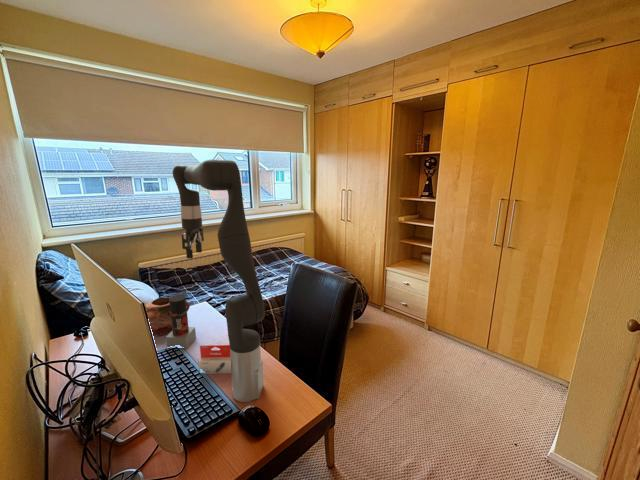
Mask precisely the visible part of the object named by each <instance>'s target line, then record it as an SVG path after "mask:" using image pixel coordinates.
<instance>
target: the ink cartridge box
mask: <svg viewBox="0 0 640 480" xmlns="http://www.w3.org/2000/svg"><path fill="white" fill-rule="evenodd" d="M213 348H218V349H213ZM199 352H200V357H199V360H198V369H199V368H200V369H202V370H203V371H205V372H206V373H205V374H231V360H230V344H219V345H218V344H217V345H216V344H215V345H213V344H212V345H208V344H207V345H199Z"/></svg>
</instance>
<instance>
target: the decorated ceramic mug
mask: <svg viewBox="0 0 640 480" xmlns="http://www.w3.org/2000/svg"><path fill="white" fill-rule="evenodd" d="M171 297H172V296H171ZM171 297H170V296H169V297H168V296H166V297H164V296H163V297H162V296H161V297H158V298H156V299H155V298H154V299H153V300H151V301H149V302H148V303H146V304H145V305H146V309H147V314H148V318H149V322H150V326H151V329H152V332H153V334H152V335H154V336H156V335H160V336H165V335H168V334H169V333H170V332H171V331H172V322H171V313H170V304H169V299H170V298H171ZM186 307H187V312H188V311H189V309H190V307H191V306H190V303H189V302H188V301H187V300H186ZM150 326H149V327H150Z"/></svg>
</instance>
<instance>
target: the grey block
mask: <svg viewBox="0 0 640 480" xmlns="http://www.w3.org/2000/svg"><path fill="white" fill-rule="evenodd" d="M188 328H189V332H188V333H187V334H185V335H182V336H174V335H173V331H171V332H170V333H169V334H166V336H165V342H166V348H167V347H170V346H175V345H180V346H182V347H184V348H185V349H184V350H187V349H188V348H189V346H190V345H192V343H193V342H194V341H195V340H196V338H197V335H196V327H195V326H194V327H193V326H188Z"/></svg>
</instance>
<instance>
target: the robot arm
mask: <svg viewBox="0 0 640 480" xmlns="http://www.w3.org/2000/svg"><path fill="white" fill-rule="evenodd" d="M172 177H173V179H174V181H175V184H176V186H177V189H178V193H179V200H180V216H181V217H180V219H181V228H182V229H183V230H185V233H181V243H182V246H181V247H182V249H183V250H185V251H186V252H185V253H186V254H185V255H186V259H193V258H194V254H193V247H194V245H195V252H196V253H202V251H203V248H202V244H203V242H204V241H205V240H204V239H205V238H204V229H203V220H202V219H203V218H202V217H203V215H202V210H201V202H200V201H201V200H200V199H201V198H200V193H199V191H198V190H195V189H191V188H190V189H189V188H187V186H186V185H195V186H201V187H202V188H203V189H206V190H209V191H213V192H214V191H227V195H228V196H227V197H228V201H227V202H228V203H227V207H226V211H225V214H224V216H223V217H222V220H221V222H220V224H219V226H218V229H217V241H218V245H219V250H220V252H219V253H220V254H221V257H222V259H223V260H224V262H225V263H227V265H229V267H230V268H231V269H232V270H233V271H234V272H235V273H236V274H237V276H239V278H240V280H241V281H242V284H243V285H244V289H245V292H246V294H242V295H239V296H235V297H231V298H228V299H227V300H226V303H225V306H224V307H225V308H224V309H225V318H226V326H227V337H228V342H229V344H228V345H230V360H231V373H230V374H231V389H232V398H233V399H234V400H235V401H237V402H240V403H248V402H252V401H254V400H259V399H260V398H261V395H262V391H263V388H264V361H263V360H262V359H261V358H262V356H261V355H262V354H261V336H260V333H259V332H258V331H256V330H254V329H251V328H245V327H248V326H250V325H255V324H257V323H260V322H262V321H263V320H264V319H265V315H266V314H265V313H266V308H265V302H264V299H263V295H262V292H261V287H260V284H259V281H258V276H257V272H256V267H255V261H254V255H253V251H252V245H251V244H252V243H251V238H250V231H249V228H248V224H247V219H246V214H245V207H244V200H243V199H244V197H243V189H242V180H241V174H240V169H239V166H238V164H237V162H235V161H233V160H229V159H206V160H204V161H202V162H200V163H198V164H192V165H185V164H183V165H181V164H178V165H177V164H176V165H175V166H174V167H173V169H172Z"/></svg>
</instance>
